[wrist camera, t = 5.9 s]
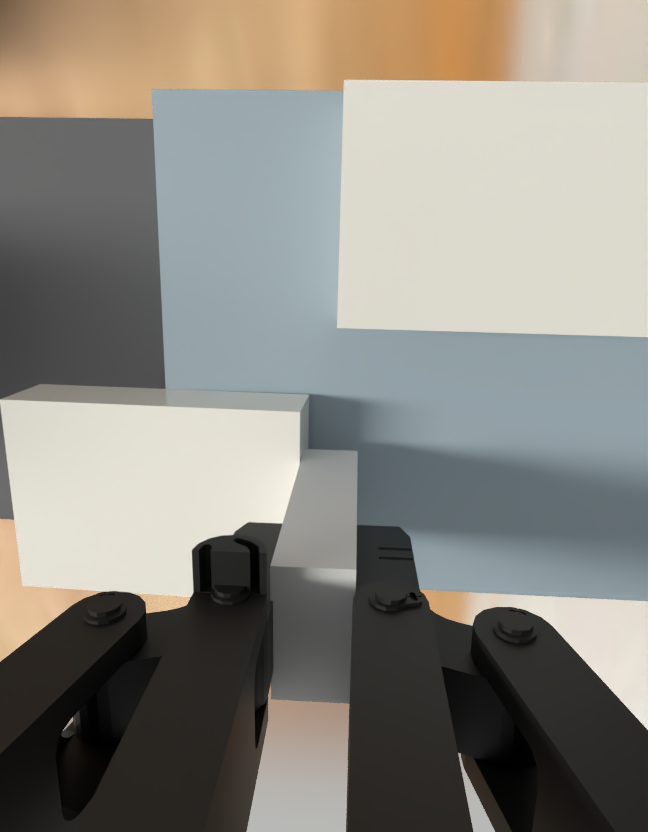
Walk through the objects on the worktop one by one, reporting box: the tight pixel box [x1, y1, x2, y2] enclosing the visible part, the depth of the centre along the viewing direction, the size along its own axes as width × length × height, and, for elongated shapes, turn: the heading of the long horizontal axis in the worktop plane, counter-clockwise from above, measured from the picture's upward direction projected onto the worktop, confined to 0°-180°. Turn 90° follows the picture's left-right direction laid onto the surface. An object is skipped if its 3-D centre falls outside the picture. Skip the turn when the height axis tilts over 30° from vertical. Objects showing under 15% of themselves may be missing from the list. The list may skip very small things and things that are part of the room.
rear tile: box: [0, 384, 309, 597], centre depth 17 cm, size 6×8×2 cm
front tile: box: [337, 80, 648, 337], centre depth 15 cm, size 6×8×2 cm
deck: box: [152, 89, 648, 601], centre depth 19 cm, size 14×16×4 cm
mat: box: [0, 117, 166, 519], centre depth 21 cm, size 14×14×1 cm
